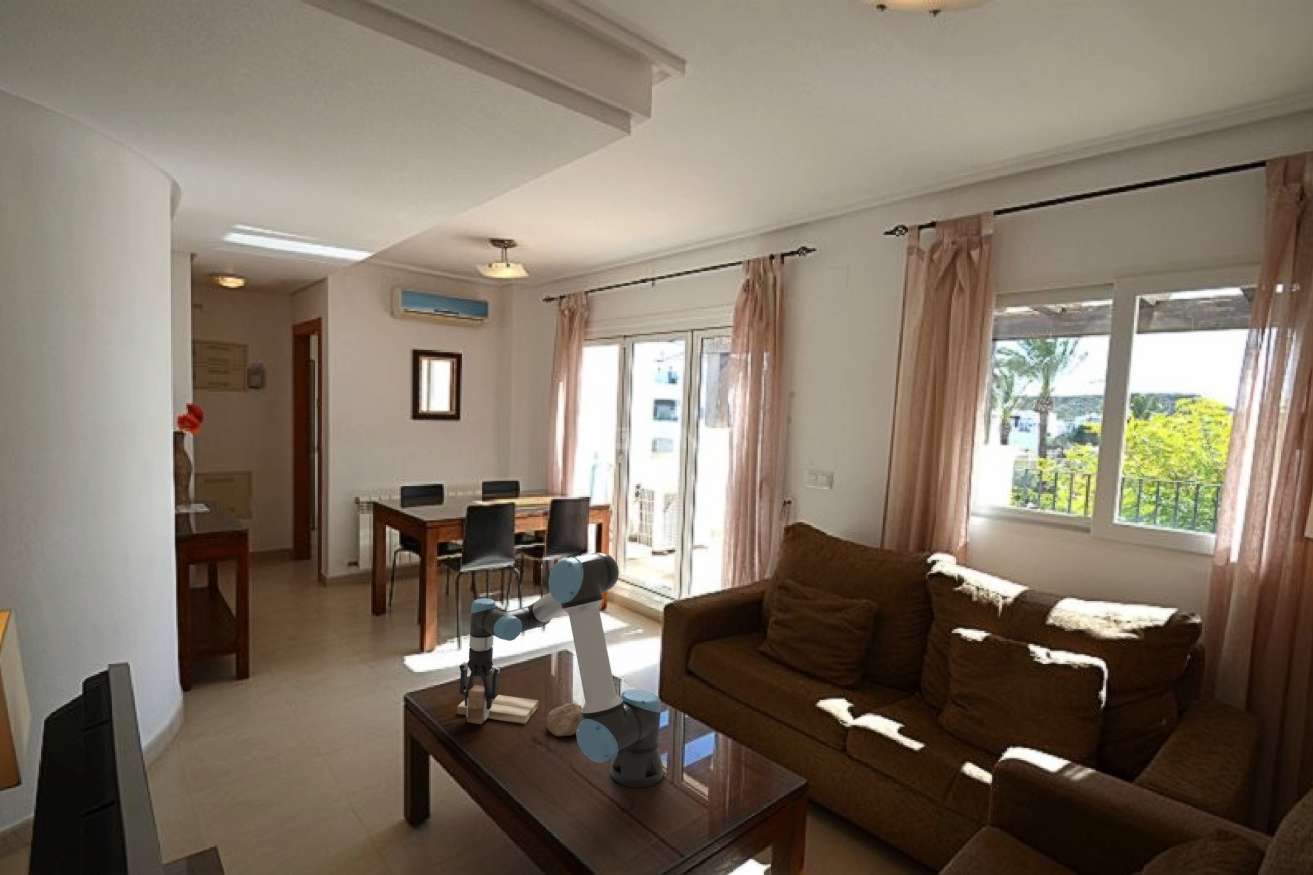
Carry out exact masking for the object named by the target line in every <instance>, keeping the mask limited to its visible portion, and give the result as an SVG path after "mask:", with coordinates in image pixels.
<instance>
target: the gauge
mask: <svg viewBox="0 0 1313 875" xmlns="http://www.w3.org/2000/svg"><path fill="white" fill-rule="evenodd" d="M485 699H486V695H485V689H484V685H479V684H474V686H473V687H472V688H471V689H470V690H469V698H468V718H467V723H471V724H477V725H483V724H484V723H485V722H486V720H483V710H484V700H485ZM492 700H493V699H492Z"/></svg>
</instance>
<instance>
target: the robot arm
mask: <svg viewBox="0 0 1313 875" xmlns="http://www.w3.org/2000/svg"><path fill="white" fill-rule="evenodd" d="M619 573H620V571H619V566H618V563H617V561H616V560H615V559H614V558H613V557H612V556H611V555H609V554H607V553H604V552H593V553H588V554H583V555H577V556H570V557H567V558H564V559H561V560H559V561H558V562H556V563H555V564H554V565H553V567H552V570H550V573H549V577H548V588H549V589H548V590H549V593H547V594H546V595H544V596H542V597H540V598H539V599H538V600H536V601H535V602H533V603H532V604H530V605H528V606H524V607H523V606H522V607H520V608H517V609H513V610H509V611H505V612H504V611H501V610H498V609H496V601H495V600H494V599H492V598H484V597H483V598H478V599H475V600H473V601H472V603H471V610H470V622H469V623H470V624H469V625H470V627H469V642H468V643H469V644H468V646H469V649H468V661H467V662H463V663H461V664H460V665H459V671H460V680H459V695H461V696H464V700H465V706H467V715H466V718H468V698H469V690H470V689H471V688H472V687H473V686H474V685H475V683H476V680H477V677H481V681H482V682H483V686H484V689H485V695H486V699H485V700H484V710H483V720H485V721H486V720H487V719H489V718H488V717H489V709H490V708H491V707H492V699H495V698H496V697H497V696H498V695H499V684H500V682H499V681H500V680H499V677H500V672H501V670H502V668H501V667H500V666H495V665H494V663H493V654H494V652H493V651H494V647H493V646H494V637H496V638H497V639H500V640H504V641H508V642H512V641H515V640H516V639H517V637H519V636H520V634H521V633H524V632H527V631H529V630H533V629H536V628H542V627H544V626H547V625H549V624H550V623H551V620H553V619H554V618H555V617H557V616H559V615H561V614H563V612H565V613H567V614H568V617H569V618H568V619H569V624H570V628H571V633H572V638H573V644H574V649H575V650H574V651H575V654H576V659H577V666H578V671H579V675H580V680H581V686H582V690H583V696H584V705H583V706H582V709H581V712H582V718H583V720H582V721H581V722H580V724H579V725H578V728H577V731H576V733H575V735H576V740H577V744H578V746H579V748H580V750H581V752H582V753H583V754H584V755H585V756H586V757H587V758H588V759H589V760H591V761H593V762H594V763H599V764H600V763H605V762H607V761H609V760H611V762H610V775H611V777H612V779H613V780H615V781H616V782H617V783H619V784H621V785H623V786H625V787H629V788H639V789H640V788H647V787H651V786H654V785H656V784H658V782H660V781H661V780H662V778H663V774H664V765H663V761H662V757H661V756H662V755H661V752H660V748H659V740H660V725H661V724H660V723H661V713H662V708H661V707H662V706H661V705H662V703H661V699H660V697H659V696H658V695H657V694H656V693H654V692H651V691H648V690H643V689H638V688H637V689H635V688H633V689H632V688H631V689H627V690H624V691H622V692H621V695H617V692H616V687H615V683H614V678H613V674H612V668H611V662H610V657H609V651H608V647H607V643H606V637H605V631H604V626H603V621H602V617H601V611H600V605H601V604H602V603H603V601H604V600H603V599H604V598H603V593H604V592H607V591H609V590H611V589H612V588H613V587H614V586H616V584H617V582H618V579H619V577H620V574H619ZM468 669H469V671H470V675H469V679H468ZM490 671H491V673H492V680H491V679H490V678H491V677H490V676H491V674H490Z"/></svg>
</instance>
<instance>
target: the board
mask: <svg viewBox="0 0 1313 875" xmlns="http://www.w3.org/2000/svg"><path fill="white" fill-rule="evenodd" d="M538 708H539V700H538V699H531V698H524V697H517V696H511V695H510V696H509V695H502V694H498V696H497V697H496V698H495V699H493V700H492V707H491V708H490V709H489V717H488V718H487V719H491V720H498V721H502V722H503V721H504V722H511V723H512V722H513V723H516V724H517V723H518V724H524V725H525V724H526V723H527V722H528V721H529V719H530V718H531V717H532V716H533V715H534V713H535V712H536V710H537V709H538ZM456 714H457V715H462V716H463V715H464V716H467V706H465V699H464V700H462V701H461V702H460V703H459V704H458V705H457V709H456Z"/></svg>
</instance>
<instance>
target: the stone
mask: <svg viewBox="0 0 1313 875" xmlns="http://www.w3.org/2000/svg"><path fill="white" fill-rule="evenodd" d="M582 708H583V706H582V705H578V704H576V703H575V702H572V703H568V702H566V703H564V704H563V705H561V706H558V707H554V708H553V709H551V710H550V711H549V713H548V714H547V718H546V728H547V730H548V731H549V732H550V733H551V734H552V735H553V736H555V737H566V736H572V735H576V731H577V728H578V725H579V724H580V722H581V721H582V720H583V718H582V712H581V709H582Z"/></svg>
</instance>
